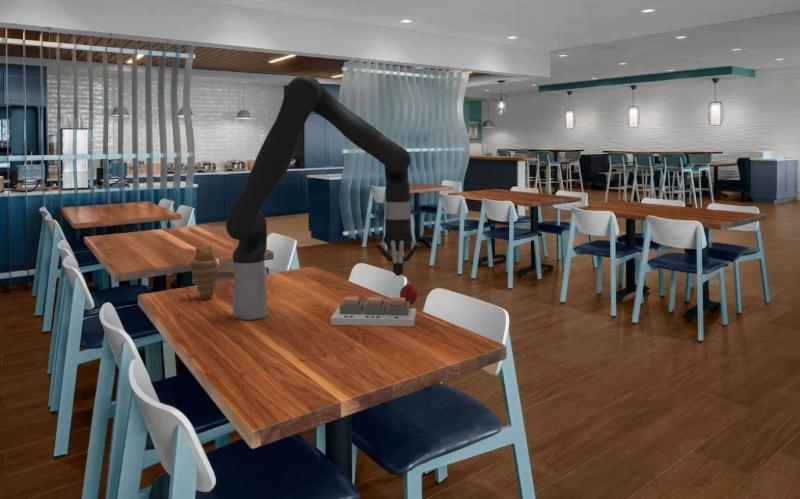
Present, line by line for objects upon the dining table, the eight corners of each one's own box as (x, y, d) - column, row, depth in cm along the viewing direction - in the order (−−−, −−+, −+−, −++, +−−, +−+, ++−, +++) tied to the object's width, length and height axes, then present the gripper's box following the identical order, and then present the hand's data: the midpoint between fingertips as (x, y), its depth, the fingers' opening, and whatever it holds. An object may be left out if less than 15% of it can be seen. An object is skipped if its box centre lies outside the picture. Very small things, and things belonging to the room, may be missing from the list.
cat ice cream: (212, 294, 210) (209, 243, 207) (224, 298, 205) (221, 246, 202) (189, 299, 204) (185, 247, 201) (200, 303, 198) (197, 249, 195)
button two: (344, 306, 179) (344, 299, 179) (346, 302, 183) (346, 296, 183) (357, 306, 179) (357, 300, 178) (359, 303, 183) (359, 296, 182)
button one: (391, 307, 178) (391, 300, 177) (392, 303, 182) (392, 297, 181) (404, 307, 177) (404, 301, 177) (405, 304, 181) (405, 297, 181)
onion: (415, 308, 191) (415, 284, 189) (398, 307, 192) (398, 283, 191) (419, 304, 196) (419, 280, 195) (401, 303, 198) (401, 279, 196)
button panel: (330, 324, 174) (330, 309, 174) (338, 313, 186) (338, 299, 185) (413, 326, 172) (413, 311, 172) (416, 314, 184) (416, 300, 183)
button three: (367, 306, 178) (367, 300, 178) (369, 303, 182) (369, 297, 182) (380, 307, 178) (380, 300, 178) (382, 303, 182) (382, 297, 182)
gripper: (373, 218, 172) (374, 277, 175) (419, 218, 171) (420, 278, 173) (376, 215, 179) (377, 272, 182) (421, 215, 178) (421, 272, 181)
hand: (398, 275), depth 178 cm, fingers closed
